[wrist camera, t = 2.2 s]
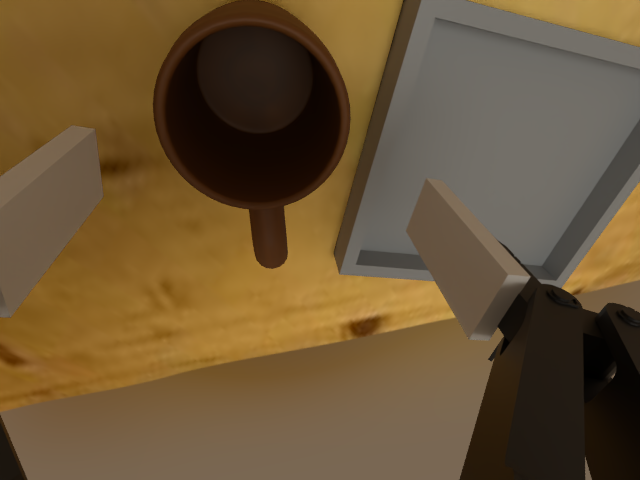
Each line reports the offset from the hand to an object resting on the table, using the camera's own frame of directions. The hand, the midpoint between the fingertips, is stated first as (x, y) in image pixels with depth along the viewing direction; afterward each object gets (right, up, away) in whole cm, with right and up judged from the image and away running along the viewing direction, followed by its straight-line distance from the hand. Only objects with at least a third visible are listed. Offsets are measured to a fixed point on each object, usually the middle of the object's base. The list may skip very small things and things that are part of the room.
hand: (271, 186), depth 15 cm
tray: (+15, +3, +12) cm, 19 cm away
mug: (-2, +6, +8) cm, 10 cm away
